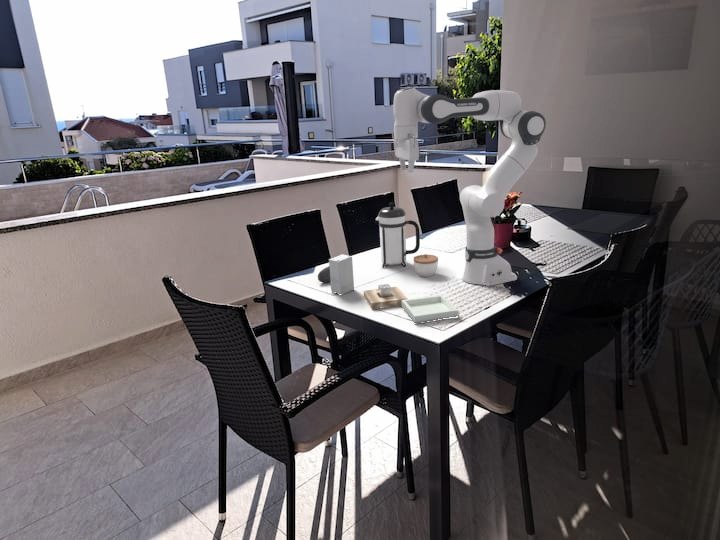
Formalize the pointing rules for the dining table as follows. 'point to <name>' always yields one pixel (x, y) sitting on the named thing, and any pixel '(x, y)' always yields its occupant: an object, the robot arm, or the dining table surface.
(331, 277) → the skincare box
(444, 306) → the tray
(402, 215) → the coffee press
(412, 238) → the dining table surface
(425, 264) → the lidded jar
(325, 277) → the perforated stone tool
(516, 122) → the robot arm
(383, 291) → the pin
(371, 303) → the socket block
